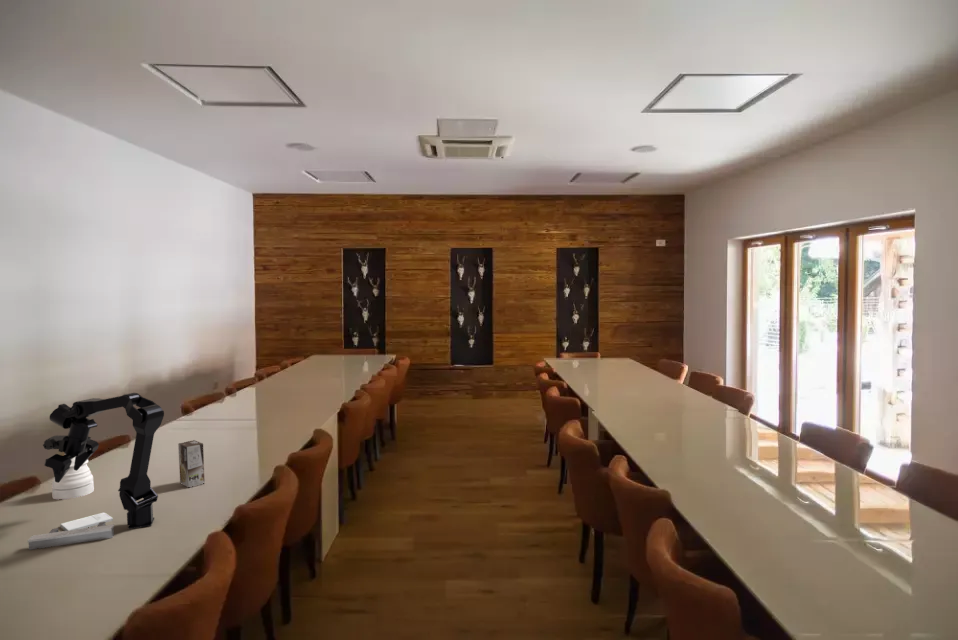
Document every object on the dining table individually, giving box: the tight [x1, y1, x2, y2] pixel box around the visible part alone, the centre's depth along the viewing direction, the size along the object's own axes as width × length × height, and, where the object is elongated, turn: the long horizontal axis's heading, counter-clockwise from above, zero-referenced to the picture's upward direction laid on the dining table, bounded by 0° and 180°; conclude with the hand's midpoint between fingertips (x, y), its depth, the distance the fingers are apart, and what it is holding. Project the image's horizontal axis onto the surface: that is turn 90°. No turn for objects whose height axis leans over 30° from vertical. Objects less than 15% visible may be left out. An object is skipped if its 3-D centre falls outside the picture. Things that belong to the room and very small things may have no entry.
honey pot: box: [51, 458, 95, 500], centre depth 214 cm, size 13×13×18 cm
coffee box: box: [177, 439, 205, 488], centre depth 223 cm, size 9×6×16 cm
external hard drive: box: [59, 511, 114, 531], centre depth 185 cm, size 2×8×12 cm
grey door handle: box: [27, 522, 115, 551], centre depth 174 cm, size 21×9×3 cm, turn 111°
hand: (66, 475), depth 191 cm, fingers open, 9 cm apart
